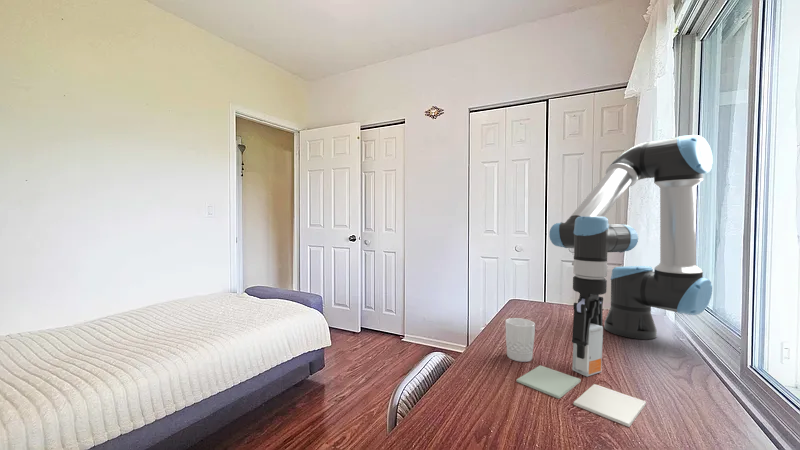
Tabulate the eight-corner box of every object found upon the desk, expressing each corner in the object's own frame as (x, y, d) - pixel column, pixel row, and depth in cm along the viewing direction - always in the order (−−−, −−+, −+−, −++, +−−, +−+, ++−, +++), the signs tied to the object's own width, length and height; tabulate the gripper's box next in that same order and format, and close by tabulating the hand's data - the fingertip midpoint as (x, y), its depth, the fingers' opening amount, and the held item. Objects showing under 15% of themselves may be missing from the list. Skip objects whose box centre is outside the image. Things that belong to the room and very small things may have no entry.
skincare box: (587, 377, 83) (588, 329, 83) (571, 370, 87) (573, 324, 87) (602, 372, 86) (603, 326, 86) (586, 366, 90) (587, 321, 90)
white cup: (536, 364, 91) (537, 327, 90) (506, 361, 92) (507, 325, 92) (531, 353, 98) (532, 318, 98) (503, 350, 100) (504, 317, 100)
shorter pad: (540, 367, 89) (540, 365, 89) (580, 381, 81) (580, 379, 81) (516, 381, 81) (516, 379, 81) (559, 398, 73) (559, 396, 73)
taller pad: (594, 386, 79) (594, 383, 79) (645, 404, 72) (645, 401, 72) (573, 404, 71) (573, 401, 71) (629, 427, 64) (629, 423, 64)
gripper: (588, 271, 95) (586, 351, 96) (557, 278, 82) (555, 372, 83) (618, 274, 90) (616, 360, 90) (591, 283, 77) (588, 383, 77)
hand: (587, 365), depth 87 cm, fingers closed on skincare box, 7 cm apart
